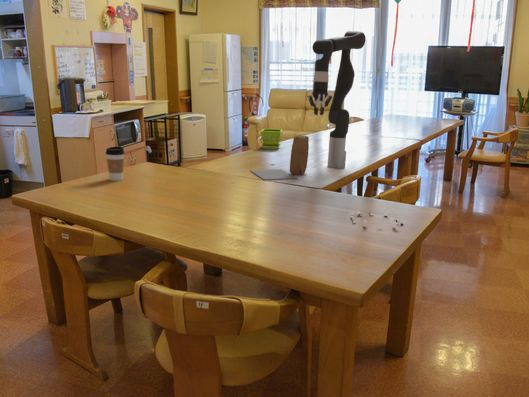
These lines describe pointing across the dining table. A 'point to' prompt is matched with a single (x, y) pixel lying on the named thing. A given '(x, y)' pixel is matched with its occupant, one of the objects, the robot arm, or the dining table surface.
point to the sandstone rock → (299, 155)
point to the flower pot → (271, 138)
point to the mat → (273, 174)
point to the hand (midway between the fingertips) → (318, 114)
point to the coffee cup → (115, 162)
